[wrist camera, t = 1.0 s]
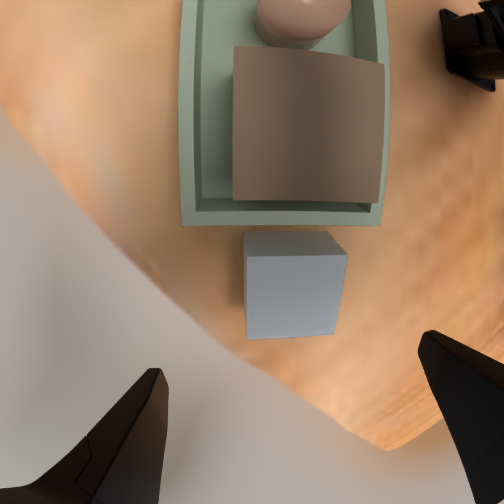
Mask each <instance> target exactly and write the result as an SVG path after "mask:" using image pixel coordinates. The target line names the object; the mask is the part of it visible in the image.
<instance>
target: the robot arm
mask: <svg viewBox="0 0 504 504" xmlns="http://www.w3.org/2000/svg"><path fill="white" fill-rule="evenodd" d="M478 4H479V5H480V7H481V8H482V9H483V10H484V11H482V12H479V13H475V14H473V13H470V14H467V15H463V16H458V15H457V14H455V13H453V12H451V11H449V10H447V9H445V8H444V9H441V10H440V16H441V22H442V29H443V36H444V45H445V55H446V67H447V70H448V71H449V72H450V73H451V74H454V75H456V76H458V77H461V78H463V79H465V80H467V81H469V82H472V83H474V84H476V85H478V86H480V87H482V88H484V89H486V90H488V91H490V92H495V89H496V88H495V80H497V79H504V0H481V1H479V2H478ZM451 66H452V67H451ZM452 68H453V69H452ZM418 356H419V358H420V361H421V364H422V366H423V369H424V372H425V375H426V377H427V380H428V383H429V386H430V388H431V390H432V393H433V395H434V397H435V399H436V401H437V403H438V406H439V408H440V410H441V412H442V415H443V417H444V419H445V421H446V424H447V426H448V428H449V431H450V433H451V435H452V438H453V440H454V443H455V445H456V448H457V450H458V453H459V456H460V458H461V461H462V464H463V466H464V469H465V472H466V475H467V478H468V481H469V484H470V487H471V490H472V493H473V497H474V500H475V503H476V504H498V503H499V502H501V501H502V500H503V499H504V364H502V363H500V362H498V361H496V360H494V359H492V358H490V357H488V356H486V355H484V354H482V353H480V352H478V351H476V350H474V349H472V348H470V347H468V346H466V345H464V344H462V343H460V342H458V341H456V340H454V339H452V338H450V337H448V336H446V335H444V334H442V333H440V332H438V331H435V330H430V331H426V332H424V333H423V335H422V338H421V341H420V344H419V347H418ZM168 394H169V389H168V384H167V381H166V379H165V376H164V374H163V371H162V370H161V369H160V368H149V369H147V371H146V372H145V373H144V374H143V375H142V376H141V377H140V378H139V379H138V380H137V381H136V382H135V384H133V386H132V387H131V388H130V389H129V390H128V391H127V392H126V393H125V394H124V395H123V397H121V398H120V400H119V401H118V402H117V403H116V404H115V405H114V406H113V407H112V408H111V409H110V410H109V411H108V412H107V413H106V415H105V416H104V417H103V418H102V419H101V420H100V421H99V422H98V423H97V424H96V425H95V426H94V427H93V428H92V430H90V432H89V433H88V434H87V436H85V437H84V438H83V439H82V440H81V441H80V442H79V443H78V444H77V445H76V446H75V447H74V448H73V449H72V450H71V451H70V452H69V453H68V454H67V455H66V456H65V457H64V458H62V459H61V460H60V461H59V462H58V463H57V464H56V465H54V466H53V467H52V468H51V469H49V470H48V471H47V472H46V473H44V474H43V475H42V476H41V477H40V478H38V479H37V480H36V481H34V482H32V483H30V484H28V485H25V486H21V487H12V488H2V489H0V504H158V501H159V491H160V483H161V474H162V466H163V459H164V451H165V444H166V437H167V426H168V396H169V395H168Z"/></svg>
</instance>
